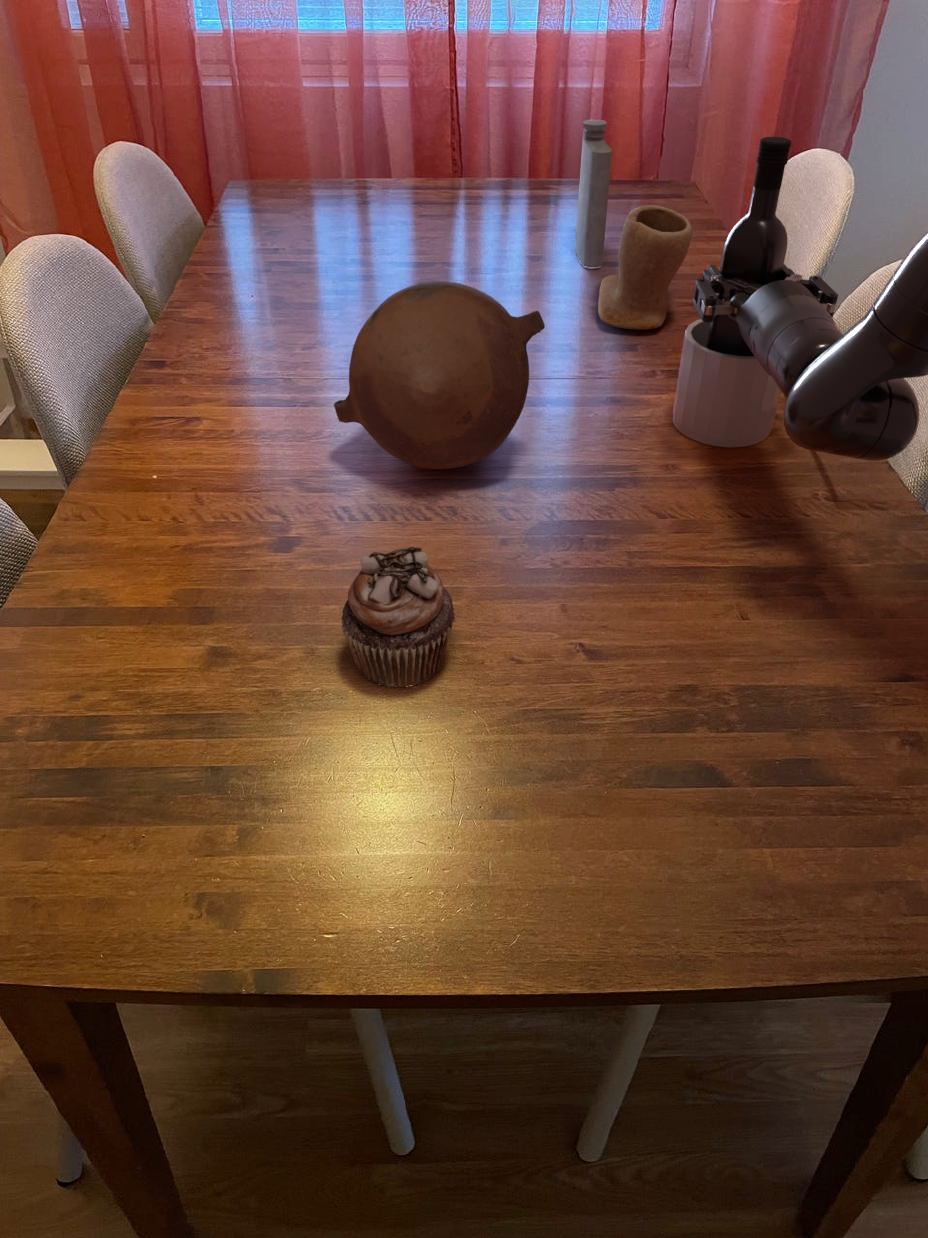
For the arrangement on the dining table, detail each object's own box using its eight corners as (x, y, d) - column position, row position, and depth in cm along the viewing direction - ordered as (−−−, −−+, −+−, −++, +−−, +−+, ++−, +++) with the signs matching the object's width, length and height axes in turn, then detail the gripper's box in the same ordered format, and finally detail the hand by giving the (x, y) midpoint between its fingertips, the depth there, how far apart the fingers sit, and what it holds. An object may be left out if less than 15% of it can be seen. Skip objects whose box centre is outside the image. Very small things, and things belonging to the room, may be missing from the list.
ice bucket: (761, 400, 119) (779, 315, 112) (781, 448, 110) (803, 359, 103) (666, 399, 119) (679, 314, 112) (678, 446, 110) (693, 357, 103)
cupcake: (330, 638, 85) (319, 547, 78) (430, 610, 88) (427, 520, 81) (366, 708, 78) (356, 616, 72) (473, 675, 81) (473, 583, 75)
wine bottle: (710, 397, 116) (758, 129, 97) (755, 410, 114) (813, 137, 95) (691, 416, 113) (737, 141, 94) (737, 429, 110) (794, 149, 91)
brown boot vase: (678, 339, 132) (695, 229, 123) (593, 333, 134) (603, 224, 124) (678, 297, 144) (694, 194, 134) (600, 292, 145) (609, 189, 136)
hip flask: (602, 269, 153) (614, 134, 140) (577, 269, 153) (587, 134, 140) (594, 236, 165) (605, 108, 152) (571, 236, 165) (579, 108, 152)
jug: (489, 515, 99) (525, 423, 125) (540, 333, 89) (568, 273, 114) (306, 460, 100) (378, 380, 125) (335, 273, 90) (408, 227, 115)
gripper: (872, 294, 90) (815, 236, 103) (723, 297, 89) (684, 239, 102) (852, 368, 95) (799, 304, 107) (710, 371, 94) (674, 307, 107)
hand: (743, 273), depth 105 cm, fingers closed on wine bottle, 7 cm apart
